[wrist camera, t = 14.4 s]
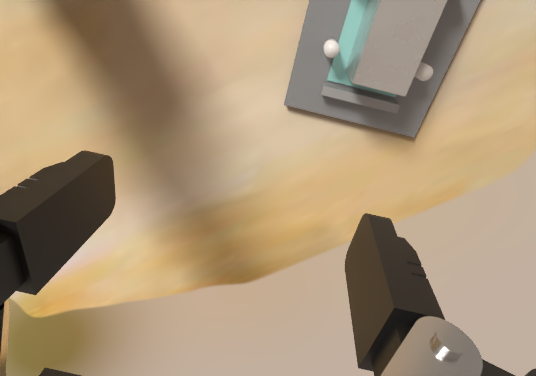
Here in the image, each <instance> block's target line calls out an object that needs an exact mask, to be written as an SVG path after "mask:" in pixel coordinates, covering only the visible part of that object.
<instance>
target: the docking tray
mask: <svg viewBox="0 0 536 376" xmlns="http://www.w3.org/2000/svg"><path fill="white" fill-rule="evenodd" d="M367 1H368V0H309V4H308V8H307V12H306V16H305V20H304V25H303V29H302V33H301V37H300V41H299V45H298V49H297V53H296V57H295V61H294V66H293V70H292V74H291V78H290V82H289V86H288V90H287V94H286V98H285V102H284V105H287V106H291V107H295V108H299V109H303V110H306V111H310V112H314V113H318V114H322V115H326V116H330V117H334V118H338V119H342V120H346V121H350V122H354V123H358V124H362V125H366V126H370V127H374V128H378V129H382V130H386V131H390V132H394V133H398V134H402V135H405V136H409V137H413V138H414V137H415V135H416V133H417V131H418V129H419V127H420V125H421V123H422V121H423V119H424V117H425V115H426V112H427V110H428V108H429V106H430V104H431V102H432V100H433V98H434V96H435V94H436V92H437V90H438V87H439V85H440V83H441V81H442V79H443V77H444V75H445V73H446V71H447V69H448V67H449V65H450V63H451V60H452V58H453V56H454V54H455V52H456V50H457V48H458V46H459V44H460V42H461V40H462V38H463V35H464V33H465V31H466V29H467V27H468V25H469V23H470V21H471V19H472V17H473V15H474V13H475V11H476V8H477V6H478V4H479V2H480V0H447V2H446V4H445V7H444V9H443V11H442V14H441V16H440V18H439V21H438V23H437V25H436V27H435V30H434V32H433V34H432V37H431V39H430V41H429V44H428V46H427V48H426V50H425V53H424V55H423V57H422V60H421V62H420V64H419V66H418V69H417V71H416V73H415V76H414V78H413V80H412V83H411V85H410V87H409V89H408V92H407V94H406V96H401V95H397V94H393V93H389V92H385V91H381V90H378V89H374V88H370V87H366V86H362V85H358V84H354V83H352V82H351V80H350V78H349V76H348V74H347V72H346V70H345V69H346V66H347V62H348V59H349V56H350V53H351V50H352V47H353V44H354V41H355V38H356V35H357V32H358V29H359V26H360V23H361V19H362V16H363V13H364V10H365V7H366V4H367Z"/></svg>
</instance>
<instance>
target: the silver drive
mask: <svg viewBox="0 0 536 376" xmlns="http://www.w3.org/2000/svg"><path fill="white" fill-rule="evenodd" d="M446 2H447V0H368V1H367V4H366V7H365V10H364V13H363V16H362V19H361V23H360V26H359V29H358V32H357V35H356V38H355V41H354V44H353V47H352V50H351V53H350V56H349V59H348V62H347V66H346V69H345V70H346V72H347V74H348V76H349V78H350V80H351V82H352V83H354V84H358V85H362V86H366V87H370V88H374V89H378V90H381V91H385V92H389V93H393V94H397V95H401V96H406V94H407V92H408V89H409V87H410V85H411V83H412V80H413V78H414V76H415V73H416V71H417V69H418V66H419V64H420V62H421V60H422V57H423V55H424V53H425V50H426V48H427V46H428V44H429V41H430V39H431V37H432V34H433V32H434V30H435V27H436V25H437V23H438V21H439V18H440V16H441V14H442V11H443V9H444V7H445V4H446Z"/></svg>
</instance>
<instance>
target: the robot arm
mask: <svg viewBox="0 0 536 376" xmlns="http://www.w3.org/2000/svg"><path fill="white" fill-rule="evenodd" d="M114 205H115V182H114V168H113V161H112V158H111V157H110V156H108V155H103V154H99V153H94V152H90V151H81V152H79V153H78V154H76V155H75V156H73V157H72V158H70V159H69V160H67V161H65V162H61V163H58V164H55V165H52V166H49V167H46V168H43V169H42V170H40V171H38V172H37V173H35V174H34V175H32V176H30V178H29V179H26V180H24V181H22V182H21V183H19V184H18V186H17V187H15V186H14V187H13V188H11V189H10V190H8V191H6V192H5V193H3V194H2V195H0V376H6V358H7V342H8V327H9V311H10V305H9V301H8V298H9V297H10V296H11V295H12V294H13V293H14V292H15V291H19V292H24V293H29V294H33V295H36V294H37V293H38V292H39V291H40V290H41V289H42V288H43V287H44V286H45V285H46V284H47V283H48V281H49V280H50V279H51V278H52V277H53V276H54V275H55V274H56V273H57V272H58V271H59V270H60V269H61V268H62V267H63V265H64V264H65V263H66V262H67V261H68V260H69V259H70V258H71V257H72V256H73V255H74V254H75V253H76V252H77V250H78V249H79V248H80V247H81V246H82V245H83V244H84V243H85V242H86V241H87V240H88V239H89V238H90V237H91V235H92V234H93V233H94V232H95V231H96V230H97V229H98V228H99V227H100V226H101V225H102V224H103V223H104V222H105V220H106V219H107V218H108V217H109V216H110V215H111V213H112V211H113V209H114ZM345 273H346V281H347V288H348V296H349V303H350V310H351V318H352V325H353V333H354V340H355V348H356V355H357V362H358V368H361V369H365V370H370V371H374V376H515V375H513V374H511V373H509V372H507V371H505V370H503V369H501V368H499V367H496V366H495V365H493V364H490V363H488V362H486V361H485V360H483V359H482V358H481V355H480V352H479V351H478V349H477V347H476V345H475V344H474V343H473V341H472V340H471V339H470V338H469V337H468V336H467V335H466V334H465V333H464V332H463V331H462V330H460V329H459V328H458V327H456V326H455V325H453V324H452V323H450V322H448V321H446V320H445V318H444V316H443V314H442V311H441V309H440V307H439V304H438V302H437V300H436V297H435V295H434V293H433V290H432V288H431V286H430V283H429V281H428V279H426V274H425V272H424V269H423V267H421V262H420V260H419V258H418V255H417V253H416V251H415V250H414V249H413V248H412V246H411V245H410V244H409V243H408V242H407V241H406V240H405V239H404V238H401V237H397V234H396V232H395V229H394V226H393V223H392V221H391V219H389V218H385V217H380V216H376V215H371V214H367V213H366V214H364V215H363V216H362V218H361V220H360V223H359V225H358V227H357V230H356V232H355V234H354V237H353V239H352V242H351V244H350V246H349V249H348V251H347V255H346V260H345ZM39 376H80V375H75V374H71V373H67V372H62V371H58V370H53V369H49V368H44V370H43V371H42V373H41V374H40V375H39ZM525 376H536V369H533V370H531V371H530V372H528V373H527V374H526V375H525Z"/></svg>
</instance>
